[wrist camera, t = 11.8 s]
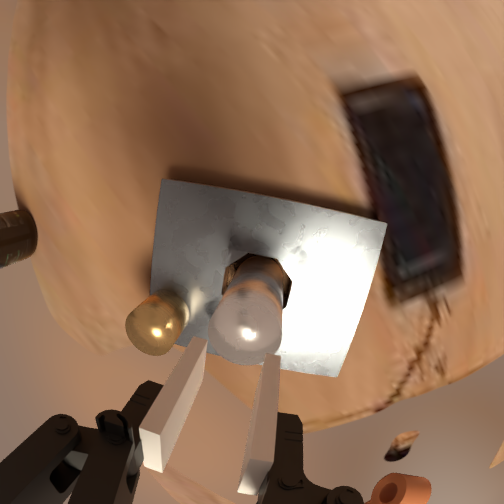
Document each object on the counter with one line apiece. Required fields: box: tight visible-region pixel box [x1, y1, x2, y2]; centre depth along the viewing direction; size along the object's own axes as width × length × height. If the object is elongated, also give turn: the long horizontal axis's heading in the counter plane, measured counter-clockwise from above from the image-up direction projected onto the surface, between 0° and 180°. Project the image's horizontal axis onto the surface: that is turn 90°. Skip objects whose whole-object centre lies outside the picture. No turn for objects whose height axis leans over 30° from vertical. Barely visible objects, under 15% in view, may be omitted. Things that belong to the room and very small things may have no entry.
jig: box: [125, 179, 387, 377], centre depth 25 cm, size 20×16×7 cm
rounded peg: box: [208, 256, 283, 365], centre depth 23 cm, size 5×5×11 cm
